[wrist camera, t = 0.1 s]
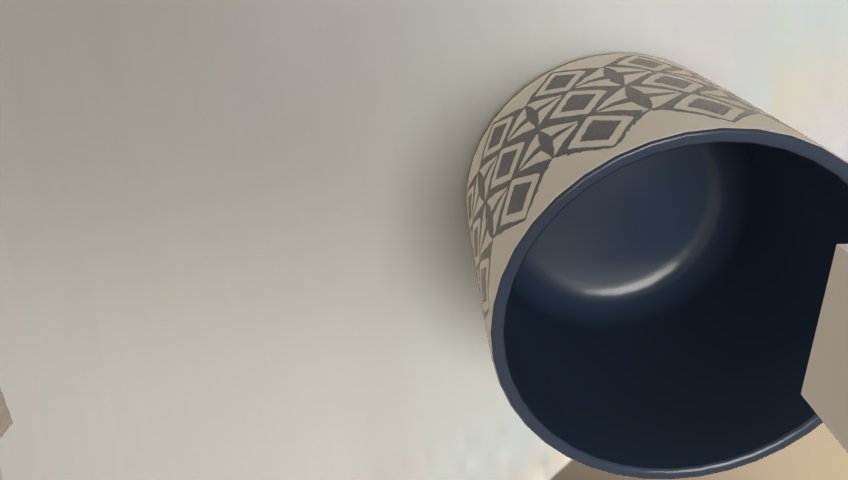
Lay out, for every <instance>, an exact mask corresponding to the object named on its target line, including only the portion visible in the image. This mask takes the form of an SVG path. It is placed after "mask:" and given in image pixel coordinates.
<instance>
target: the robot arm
mask: <svg viewBox="0 0 848 480" xmlns="http://www.w3.org/2000/svg"><path fill="white" fill-rule="evenodd" d="M801 395H802V396H803V398H804V399H805V400H806V401H807V403H808V404H809V405H810V406H811V408H812V409H813V410H814V411H815V413H816V414H817V415H818V416H819V418H820V419H821V420H822V421H823V423H824V424H825V425H826V426H827V427H828V429H829V430H830V431H831V433H832V434H833V435H834V436H835V438H836V439H837V440H838V441H839V443H840V444H841V445H842V446H843V448H844V449H845V450H846V451H847V453H848V244H837V245H836V249H835V253H834V258H833V262H832V266H831V270H830V274H829V278H828V283H827V287H826V291H825V295H824V299H823V303H822V308H821V312H820V316H819V320H818V324H817V328H816V333H815V337H814V341H813V345H812V349H811V353H810V358H809V362H808V366H807V370H806V374H805V378H804V383H803V387H802V391H801ZM12 423H13V422H12V419H11V416H10V413H9V411H8V408H7V405H6V402H5V400H4V397H3V394H2V391H1V389H0V438H1V437H2V436H3V434H4V433H5V432H6V431H7V429H8V428H9V427H10V425H11V424H12Z"/></svg>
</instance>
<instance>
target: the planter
mask: <svg viewBox="0 0 848 480" xmlns="http://www.w3.org/2000/svg"><path fill="white" fill-rule="evenodd" d="M466 204H467V214H468V223H469V230H470V237H471V243H472V249H473V255H474V261H475V267H476V273H477V279H478V285H479V291H480V296H481V302H482V308H483V314H484V319H485V325H486V331H487V336H488V341H489V346H490V351H491V356H492V360H493V364H494V367H495V371H496V374H497V378H498V381H499V384H500V386H501V388H502V390H503V392H504V394H505V396H506V397H507V399H508V401H509V403H510V405H511V406H512V408H513V409H514V410H515V412H516V413H517V414H518V416H519V417H520V418H521V419H522V421H523V422H524V423H525V425H526V426H528V427H529V428H530V429H531V430H532V431H533V432H534V433H535V434H536V435H537V436H538V437H540V438H541V439H542V440H543V441H544V442H545V443H547V444H548V445H550V446H551V447H553V448H554V449H556V450H557V451H559V452H561V453H562V454H564V455H565V456H567V457H569V458H571V459H574V460H576V461H578V462H580V463H583V464H585V465H587V466H589V467H592V468H596V469H599V470H602V471H606V472H609V473H613V474H616V475H623V476H630V477H637V478H644V479H646V478H647V479H676V478H688V477H698V476H704V475H708V474H713V473H717V472H722V471H727V470H731V469H734V468H737V467H740V466H743V465H746V464H748V463H752V462H755V461H757V460H759V459H762V458H764V457H766V456H768V455H770V454H772V453H775V452H777V451H779V450H781V449H783V448H785V447H787V446H788V445H790V444H792V443H793V442H795V441H797V440H798V439H800V438H802V437H803V436H805V435H806V434H808V433H810V432H811V431H812V430H813V429H815V428H816V427H817V426H819V425H820V424H821V423H823V421H822V420H821V419H820V418H819V416H818V415H817V414H816V413H815V411H814V410H813V409H812V408H811V406H810V405H809V404H808V403H807V401H806V400H805V399H804V398H803V396H802V395H801V391H802V387H803V383H804V378H805V374H806V370H807V366H808V362H809V358H810V353H811V349H812V345H813V341H814V337H815V333H816V328H817V324H818V320H819V316H820V312H821V308H822V303H823V299H824V295H825V291H826V287H827V283H828V278H829V274H830V270H831V266H832V262H833V258H834V253H835V249H836V245H837V244H848V162H847V161H845V160H844V159H842V158H840V157H839V156H837V155H836V154H834V153H832V152H831V151H829V150H828V149H826V148H824V147H823V146H821V145H820V144H818V143H816V142H815V141H813V140H811V139H810V138H808V137H807V136H805V135H803V134H802V133H800V132H798V131H797V130H795V129H793V128H792V127H790V126H788V125H786V124H785V123H783V122H781V121H779V120H778V119H776V118H774V117H772V116H771V115H769V114H767V113H765V112H764V111H762V110H760V109H758V108H757V107H755V106H753V105H752V104H750V103H748V102H746V101H745V100H743V99H741V98H739V97H738V96H736V95H734V94H732V93H730V92H729V91H727V90H725V89H723V88H722V87H720V86H718V85H716V84H715V83H713V82H711V81H709V80H708V79H706V78H704V77H702V76H700V75H699V74H697V73H695V72H693V71H691V70H689V69H687V68H686V67H683V66H681V65H678V64H676V63H673V62H671V61H668V60H666V59H662V58H657V57H652V56H648V55H643V54H624V53H615V54H607V55H599V56H592V57H589V58H585V59H581V60H578V61H574V62H571V63H568V64H566V65H564V66H562V67H559V68H557V69H555V70H553V71H550V72H548V73H546V74H545V75H543V76H542V77H540V78H539V79H537V80H536V81H534V82H532V83H531V84H529V85H528V86H526V87H525V88H524V89H523V90H522V91H521V92H519V93H518V94H517V95H516V96H515V97H514V98H513V99H511V100H510V101H509V102H508V103H507V104H506V106H505V107H504V108H503V109H502V110H501V112H500V113H499V114H498V115H497V116H496V117H495V119H494V120H493V121H492V123H491V125H490V126H489V128H488V129H487V131H486V133H485V134H484V136H483V138H482V139H481V141H480V144H479V146H478V149H477V151H476V153H475V156H474V158H473V161H472V165H471V169H470V174H469V178H468V184H467V199H466Z"/></svg>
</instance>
